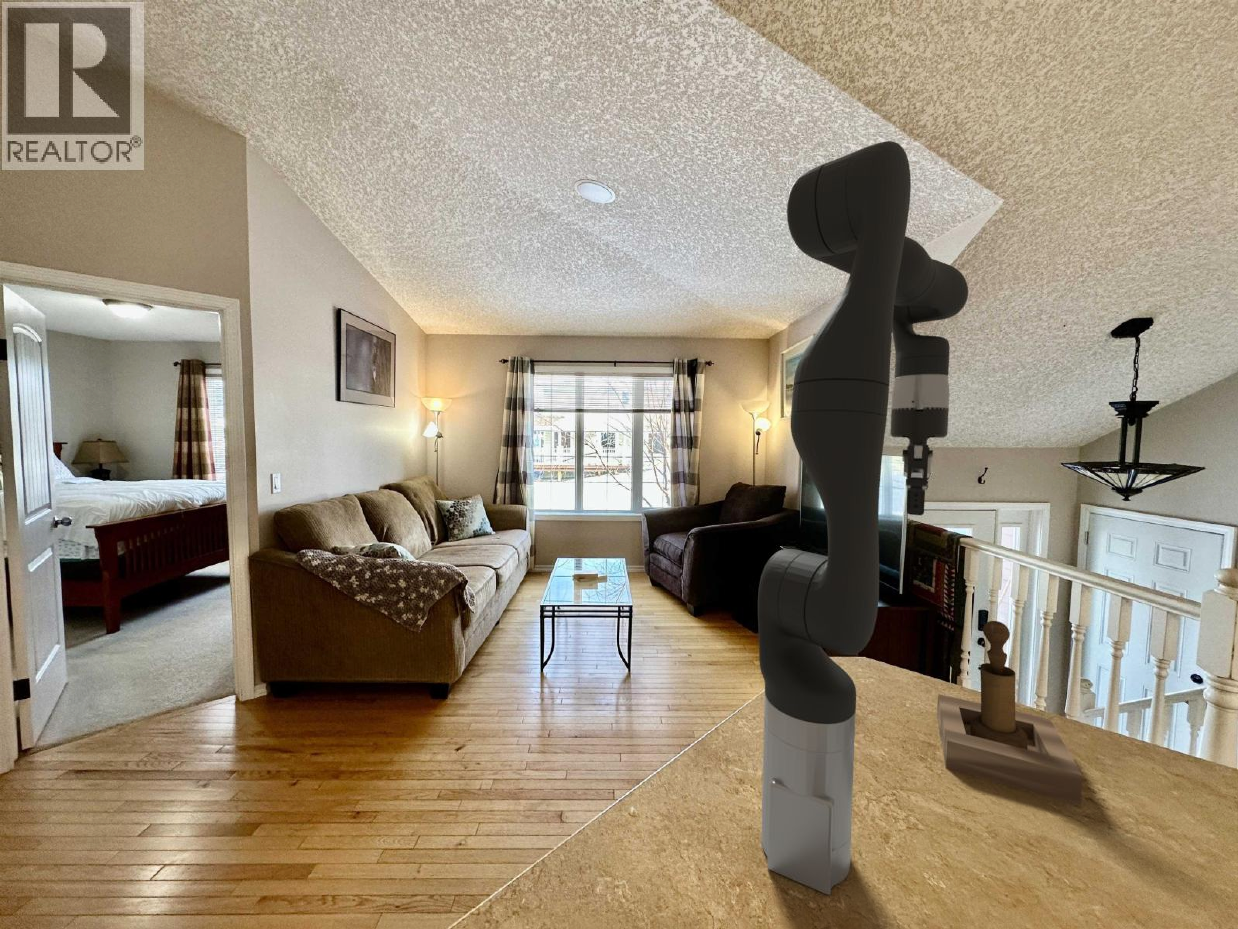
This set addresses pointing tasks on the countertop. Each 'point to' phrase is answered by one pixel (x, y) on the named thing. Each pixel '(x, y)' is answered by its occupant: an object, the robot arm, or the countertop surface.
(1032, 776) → the brown flat square frame
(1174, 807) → the countertop surface
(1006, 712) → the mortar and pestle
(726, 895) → the countertop surface
